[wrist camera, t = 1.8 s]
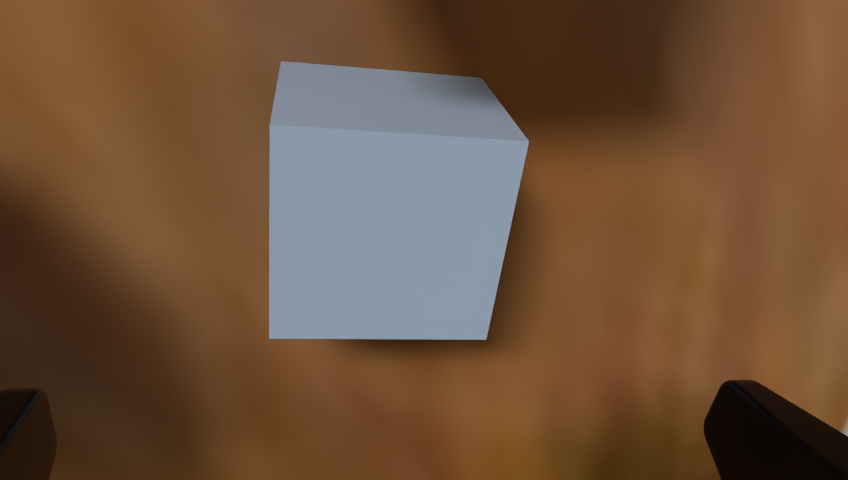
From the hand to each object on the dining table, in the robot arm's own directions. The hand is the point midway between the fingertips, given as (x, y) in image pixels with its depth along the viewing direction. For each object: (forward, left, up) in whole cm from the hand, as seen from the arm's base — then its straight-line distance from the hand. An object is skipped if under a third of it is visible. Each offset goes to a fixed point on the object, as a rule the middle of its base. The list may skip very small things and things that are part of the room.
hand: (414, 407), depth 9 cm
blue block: (0, 0, -8) cm, 8 cm away
